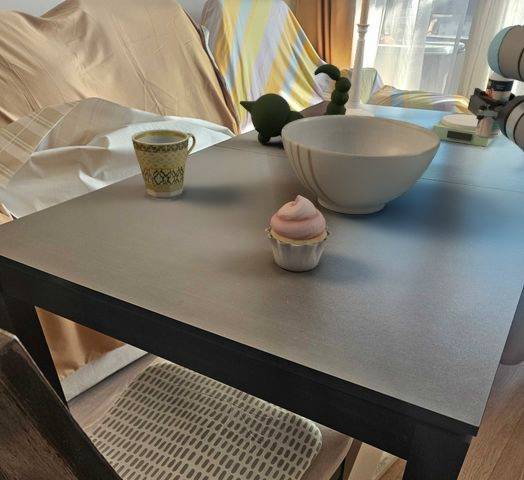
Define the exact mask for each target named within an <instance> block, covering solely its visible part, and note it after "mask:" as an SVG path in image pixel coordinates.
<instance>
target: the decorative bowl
mask: <svg viewBox="0 0 524 480" xmlns="http://www.w3.org/2000/svg"><path fill="white" fill-rule="evenodd" d="M281 140H282V141H283V142H282V145H283V148H284V149H283V150H284V152H285V155H286V158H287V160H288V162H289V165H290V167H291V169H292V171H293V173H294V175H295V176H296V178H297V179H298V181H299V182H300V183H301V184H302V185H303V187H304V188H305V189H307V190H308V191H309V192H310V193H311V194H312V195H314V196H315V197H317V202H318V203H319V205H321V206H322V207H323V208H325V209H327V210H330V211H332V212H336V213H341V214H347V215H368V214H373V213H376V212H379V211H381V210H383V209H384V207H385V205H386V203H389V202H391V201H393V200H396V199H397V198H399V197H400V196H402V195H403V194H405V193H406V192H407V191H409V190H410V189H411V188H412V187H413V186H414V185H415V184H416V183H417V182H418V181H419V180H420V179H421V178H422V177H423V175H424V174H425V173H426V171H427V170H428V168H429V167H430V166H431V164H432V163H433V161H434V159H435V157H436V155H437V153H438V151H439V150H440V146H441V139H440V138H439V136H438V135H437V134H435V133H434V132H433V131H432V129H429V128H427V127H424V126H422V125H419V124H415V123H413V122H408V121H403V120H400V119H396V118H395V119H394V118H390V117H389V118H388V117H382V116H381V117H380V116H374V117H373V116H361V115H326V116H322V115H316V116H315V115H314V116H308V118H306V117H304V118H303V119H299V120H296V121H293V122H290V123H288V124H287V125H285V126H284V127H283V129H282V137H281Z"/></svg>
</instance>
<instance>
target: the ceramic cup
mask: <svg viewBox="0 0 524 480" xmlns="http://www.w3.org/2000/svg"><path fill="white" fill-rule="evenodd" d="M190 138H192V143H191V146H190V147H189V139H190ZM196 140H197V139H196V137H195V135H194V134H193V133H191V132H184V131H182V130H177V129H167V128H157V129H156V128H155V129H147V130H146V129H145V130H142V131H138V132H136V133H134V134H133V135H132V136H131V141H132V146H133V149H134V153H135V156H136V159H137V162H138V164H139V169H140V172H141V175H142V178H143V181H144V186H145V190H146V193H147V194H148V195H149V196H151V197H153V198H162V199H164V198H166V199H167V198H169V199H171V198H174V197H177V196H180V195H182V193H183V191H184V180H185V168H186V161H187V159H188V157H189V155H190V154H191V153H192V151H193V150H194V148H195V147H196V143H197V141H196Z"/></svg>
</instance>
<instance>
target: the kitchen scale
mask: <svg viewBox="0 0 524 480" xmlns="http://www.w3.org/2000/svg"><path fill="white" fill-rule="evenodd" d="M476 118H477V116H475V115H474V114H465V113H464V114H463V113H461V114H460V113H456V114H448V115H444V116H443V117H442V119H440V120H439V121H438V122H437V123H434V125H433V126H432V129H431V131H433V132H434V133H435V134H437V135H438V136H439V138H440V140H443V141H447V142H453V143H460V144H466V145H471V146H472V145H473V146H480V147H485V148H487V147H488V146H489V144H491V143H492V141H493V140H494V139H495V138H493V139H485V138H480V137H478V136H477V135H476V134H475V131H476V127H477V123H478V119H476Z"/></svg>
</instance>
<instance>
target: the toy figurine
mask: <svg viewBox="0 0 524 480" xmlns="http://www.w3.org/2000/svg"><path fill="white" fill-rule="evenodd" d="M313 74H314V76H318V75H319V74H325V75H326V76H328V77H329V78H330V80H332V81H334V82H335V83H334V89H333V90H332V92H331V94H330V101H329V102H328V103H327V105H326V108H325V112H324V113H323V114H322V115H321V116H326V115H345V113H346V108H345V106H346V105H347V102H348V99H349V91H350V88H351V85H352V84H351V80H350V79H349V78H348V77H346V76H341V75H342V73H341V70H340V69H339V67H338V66H336V65H334V64H332V63H324V64H322V65H320V66H318V67H317V68H316V69H315V71H314V73H313ZM239 105H240V106H242V108H243V109H245V110H246V111H247V112H248V113H249V114H250V119H251V124H252V126H253V128H254V130H255V131H256V132H257V133H258V134H257V141H258V142H259V143H260V144H262V145H267V144H268V143H270V142H271V140H272V138H276V137H280V138H282V129H283V127H284V126H285V125H287V124H288V123H290V122H293V121H296V120H299V119H303V118H308V117H309V116H308V117H305V116H304V115H303V114H302V113H301V112H299V111H297V110H292V109H291V106H290V104H289V102H288V101H287V99H286V98H284V97H283V96H281V95H280V94H277V93H275V92H269V93H265V94H263V95H261V96H259V97H258V98H257V99H255V100H240V101H239ZM282 143H283V141H282Z"/></svg>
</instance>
